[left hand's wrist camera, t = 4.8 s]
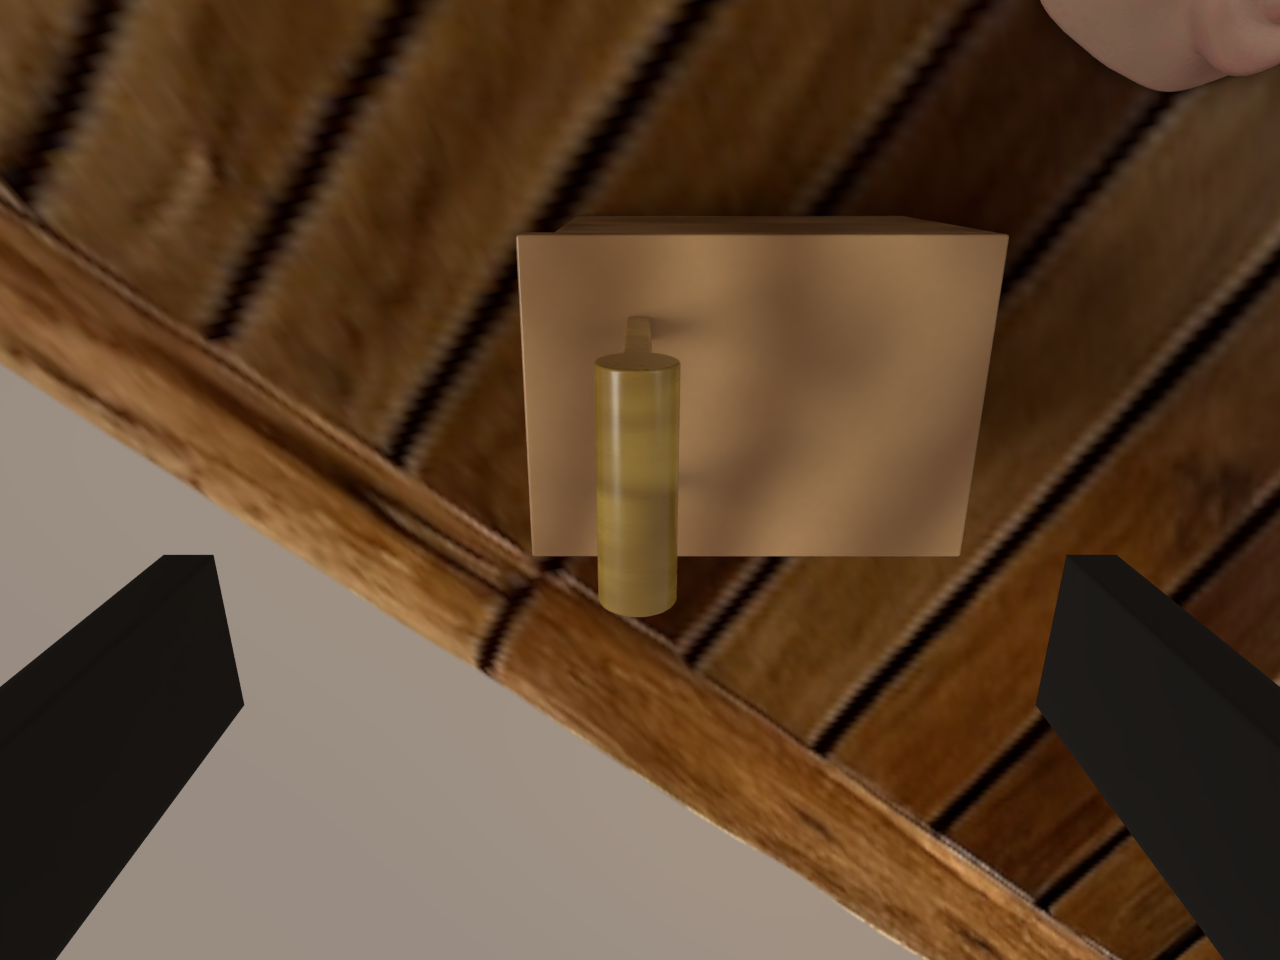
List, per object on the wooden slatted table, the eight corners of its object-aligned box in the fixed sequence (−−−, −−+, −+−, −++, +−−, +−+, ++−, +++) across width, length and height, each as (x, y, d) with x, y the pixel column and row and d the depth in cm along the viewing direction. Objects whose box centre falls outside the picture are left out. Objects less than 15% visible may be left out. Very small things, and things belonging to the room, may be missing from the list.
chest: (582, 456, 36) (564, 545, 27) (576, 215, 32) (553, 232, 24) (877, 456, 36) (951, 545, 27) (903, 215, 32) (997, 232, 24)
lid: (535, 545, 27) (492, 696, 20) (519, 232, 24) (459, 262, 16) (951, 545, 27) (1076, 697, 20) (998, 232, 24) (1174, 262, 16)
